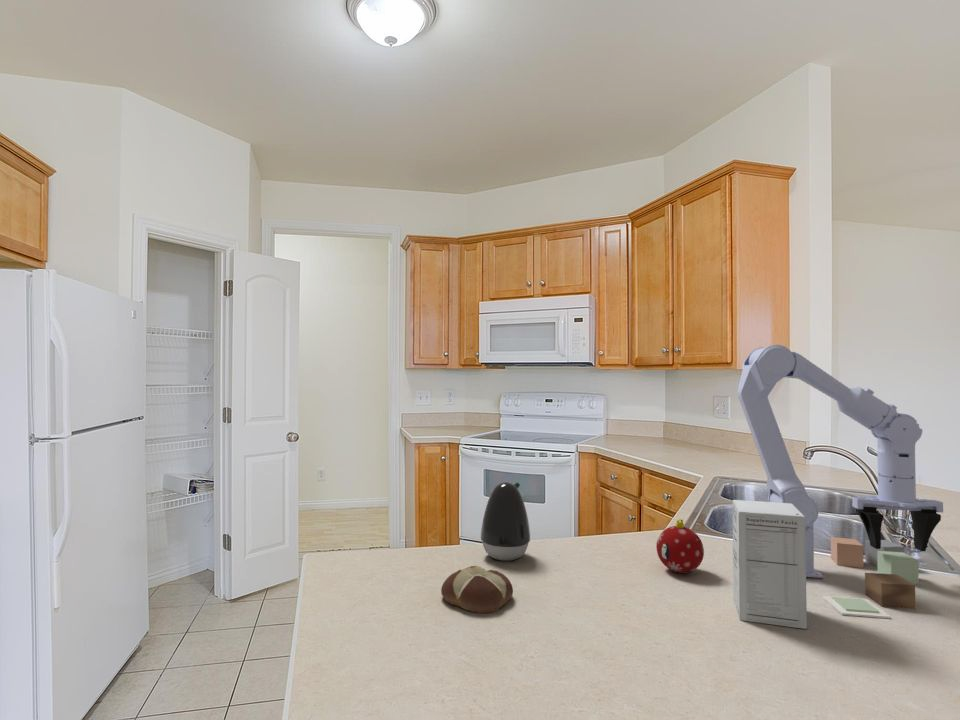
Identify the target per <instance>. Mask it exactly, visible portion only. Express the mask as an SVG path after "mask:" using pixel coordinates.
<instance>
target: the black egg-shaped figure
mask: <svg viewBox="0 0 960 720" xmlns="http://www.w3.org/2000/svg"><path fill="white" fill-rule="evenodd" d="M520 485H521V484H520V483H519V482H515V483H514V484H513V483H512V482H511V483H510V482H501V483H499V484H497V485H496V486H495V487H494V489H493V490H492V492H491V494H490V496H489V498H488V501H487V503H486V506H485V509H484V514H483V519H482V524H481V529H480V540H481V542H482V546H483V548H484V551H485V552H486V554H487V555H488V556H489V557H491V558H492V559H495V560H498V561H501V562H502V561H505V562H509V561H514V560H517V559H519V558H520V557H522V556H523V555H524V554H525V553H526V551H527V549H528V547H529V543H530V542H531V530H530V523H529V516H528V513H527V508H526V505H525V501H524V499H523V497H522V494H521V492H520V490H519V488H520Z"/></svg>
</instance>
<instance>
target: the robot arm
mask: <svg viewBox="0 0 960 720" xmlns="http://www.w3.org/2000/svg"><path fill="white" fill-rule="evenodd" d="M785 378H789V379H798V380H800V381H802V382H803V383H805V384H807V385H809V386H810V387H812V388H813V389H815V390H816V391H817V390H818V391H819V392H820V393H822V394H824V395H826V396H828V397H830V398H831V399H833V400H834V401H836V404H837V407H838V410H839V412H841V413H843V414H844V415H846V416H848V418H850V419H851V420H853V421H855V422H857V423H858V424H860V425H862V426H863V427H864V428H866V429H868V430H869V431H871V434H872V435H873V437H875V438H877V439H876V442H877V450H876V451H877V452H876V454H877V496H876V495H875V496H871V495H870V496H852V497H851V501H852V502H851V503H852V508H855V512H856V513H857V514H858V516H859V518H860V520H861V522H862V524H863V526H864V528H865V531H866V534H867V537H868V540H869V541H870V546H872V547H874V548H875V549H880V547H881V540H882V539H881V538H882V537H881V535H882V533H881V531H882V523H883V520H884V516H885V515H883V514H882V513H880V512H879V510H891V511H894V510H895V511H909V512H910V516H911V517H910V518H911V520H912V527H913V545H914V549H917V550H919V551H921V552H926V551H927V547H928V543H929V541H930V538H931V536H932V534H933V531H934V530H935V529H936V527H937V525H938V524H939V523H940V521H942V515H941V514H940V513H944V502H943V501H940V500H936V499H925V498H917V490H916V489H917V485H916V484H917V482H916V481H917V478H916V444H917V442H918V441H919V440H920V438H921V437H922V435H923V428H921V427H920V424H919V423H918V420H917V419H915V417H913V416H912V415H910V414H907V413H899V412H898V410H897V408H898V407H897V406H896V405H894V404H888V403H886V402H885V401H884V400H882V399H879V398H878V397H877V396H876V395H874V394H875V392H874V391H873V390H872V389H870V388H862V387H860V386H859V387H858V386H856V387H851V388H850V387H848V386H846V385H845V384H843V383H842V382H841V381H839V380H838V379H836V378H835V377H833V375H830V374H829V373H827V372H826V371H824V370H823V369H821V368H820V367H819V366H817V365H816V364H815V363H813V362H812V361H810V360H809V359H807V358H806V357H804V356H803V355H802V354H800V353H799V352H796V351H791V350H790V349H789V348H788V347H787V346H785V345H782V344H772V345H771V344H770V345H769V346H764V347H763V346H761V347H757V348H755V349H753V350H752V351H751V352H750V353H749V354H748V356H747V357H746V358H745V360H744V361H743V362H742V372H741V375H740V380H739V383H738V388H737V391H736V392H737V398H738V399H739V403H740V406H741V408H742V411H743V414H744V416H745V418H746V419H745V420H746V422H747V425H748V429H749V430H750V433H751V435H752V438H753V441H754V444H755V447H756V450H757V452H758V454H759V457H760V460H761V463H762V466H763V469H764V472H765V475H766V477H767V479H766V487H767V489H768V497H767V502H775V503H790V504H793V505H794V506H795V507H796V508H797V509H798V510H799V511H800V512H801V513H802V514H803V515H804V517H805V554H806V578H819V579H820V578H821V579H823V578H824V575H823V574H822V573H821V572H819V571H818V570H817V569H815V561H814V560H815V559H814V557H815V551H814V549H815V547H814V546H815V545H814V544H815V538H814V534H815V533H814V531H815V529H814V526H815V525H814V524H815V522H816V521H817V519H818V517H819V507H818V505H817V503H816V502H815V500H814V499H813V498H812V497H810V495H809V494H808V492H807V490H806V488H805V485H804V484H803V483H802V481H801V480H800V478H799V477H798V475H797V473H796V471H795V469H794V466H793V465H794V464H793V463H792V460H791V458H790V454H789V452H788V449H787V447H786V443H785V441H784V439H783V436H782V434H781V433H782V432H781V430H780V428H779V427H780V426H779V425H778V422H777V420H776V417H775V414H774V411H773V408H772V406H771V403H770V399H769V395H770V393H771V392H772V391H773V389H774V388H775V386H776V384H778V383H779V382H780V381H781V380H782V379H785Z"/></svg>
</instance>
